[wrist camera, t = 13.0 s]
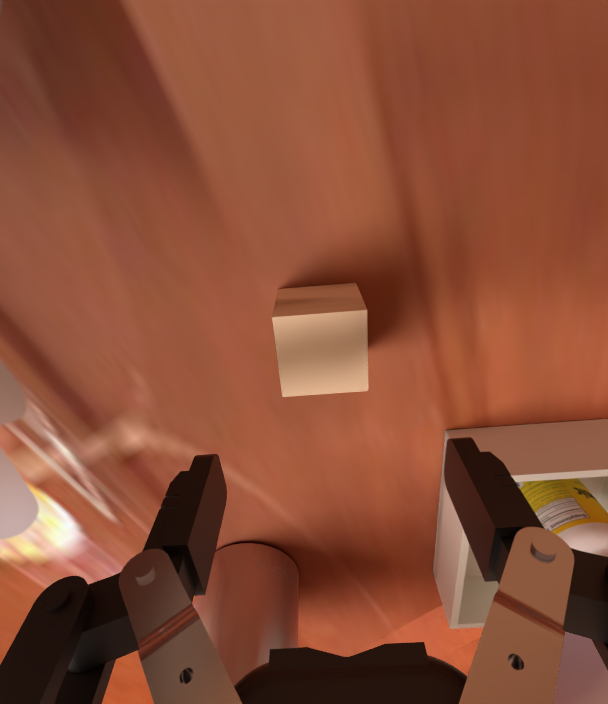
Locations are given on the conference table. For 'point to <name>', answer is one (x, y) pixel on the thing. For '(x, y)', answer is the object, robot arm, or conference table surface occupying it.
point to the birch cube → (321, 339)
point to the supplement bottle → (569, 513)
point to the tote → (524, 465)
